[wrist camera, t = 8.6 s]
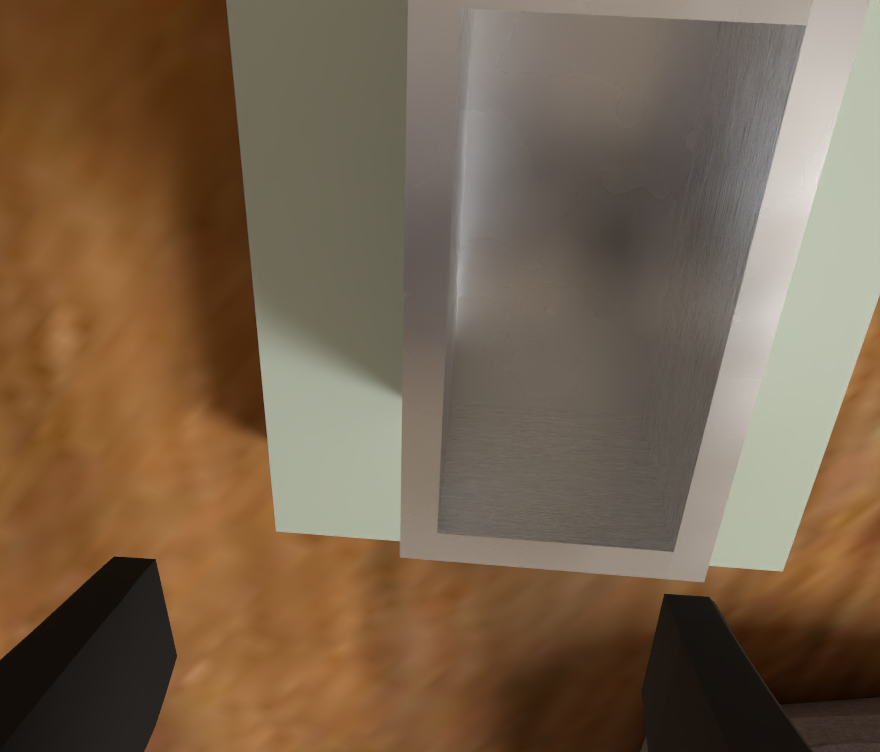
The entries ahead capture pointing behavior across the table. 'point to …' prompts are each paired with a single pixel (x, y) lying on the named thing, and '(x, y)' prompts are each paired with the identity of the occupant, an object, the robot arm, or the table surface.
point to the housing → (600, 265)
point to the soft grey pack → (835, 724)
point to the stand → (382, 276)
